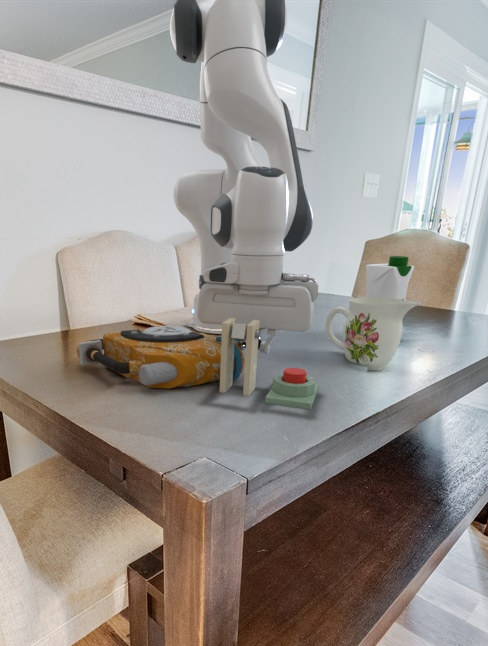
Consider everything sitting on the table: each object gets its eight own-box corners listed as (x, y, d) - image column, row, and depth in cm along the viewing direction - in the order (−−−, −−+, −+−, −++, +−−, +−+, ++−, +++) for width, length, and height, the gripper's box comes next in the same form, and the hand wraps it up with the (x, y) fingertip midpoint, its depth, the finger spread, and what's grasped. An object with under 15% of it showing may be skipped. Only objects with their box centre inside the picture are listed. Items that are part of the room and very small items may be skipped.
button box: (276, 389, 81) (278, 368, 79) (317, 395, 79) (320, 373, 77) (264, 410, 72) (266, 386, 71) (309, 417, 70) (312, 392, 68)
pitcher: (334, 351, 105) (342, 289, 100) (416, 368, 93) (430, 299, 88) (309, 361, 97) (316, 295, 92) (395, 380, 86) (409, 306, 81)
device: (133, 358, 68) (66, 326, 92) (135, 411, 71) (70, 366, 95) (251, 340, 79) (164, 316, 103) (249, 385, 82) (165, 352, 106)
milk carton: (380, 345, 110) (394, 258, 103) (351, 336, 118) (363, 255, 110) (404, 340, 114) (420, 256, 107) (375, 333, 122) (388, 254, 114)
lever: (244, 352, 85) (247, 335, 85) (261, 354, 84) (264, 336, 84) (227, 340, 73) (230, 320, 73) (247, 342, 72) (250, 321, 72)
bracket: (223, 384, 83) (225, 314, 79) (266, 390, 81) (272, 317, 76) (205, 403, 75) (207, 325, 70) (253, 411, 72) (258, 330, 67)
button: (284, 376, 76) (285, 366, 76) (307, 379, 75) (308, 369, 74) (280, 383, 73) (281, 372, 72) (303, 386, 72) (305, 375, 71)
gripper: (321, 273, 77) (312, 352, 82) (206, 268, 84) (204, 341, 89) (317, 277, 72) (308, 362, 77) (194, 271, 79) (193, 349, 84)
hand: (251, 351), depth 83 cm, fingers closed on lever, 3 cm apart
